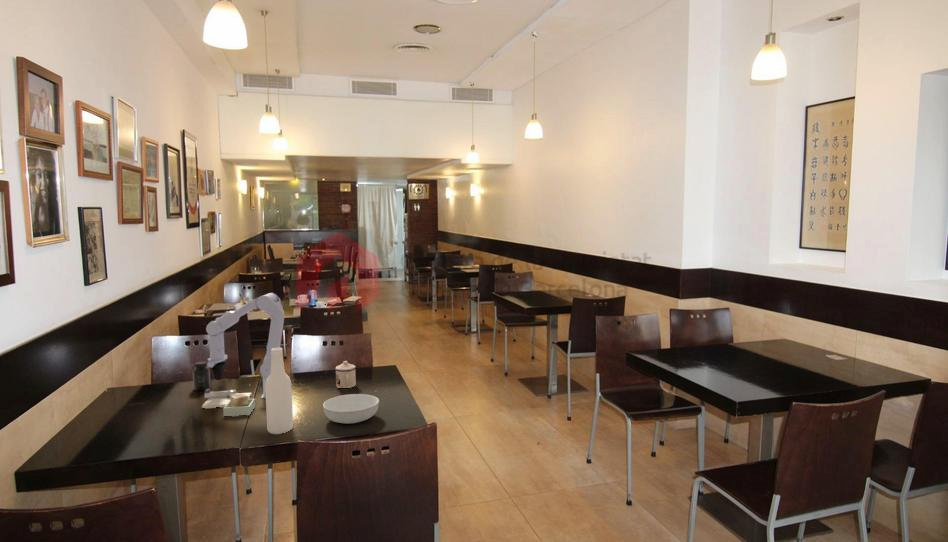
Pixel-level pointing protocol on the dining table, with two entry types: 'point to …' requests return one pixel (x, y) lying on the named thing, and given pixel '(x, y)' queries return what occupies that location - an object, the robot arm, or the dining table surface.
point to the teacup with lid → (345, 375)
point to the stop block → (239, 400)
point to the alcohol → (278, 396)
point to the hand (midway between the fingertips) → (218, 379)
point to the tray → (239, 409)
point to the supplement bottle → (201, 376)
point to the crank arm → (219, 393)
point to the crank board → (219, 401)
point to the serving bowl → (351, 408)
